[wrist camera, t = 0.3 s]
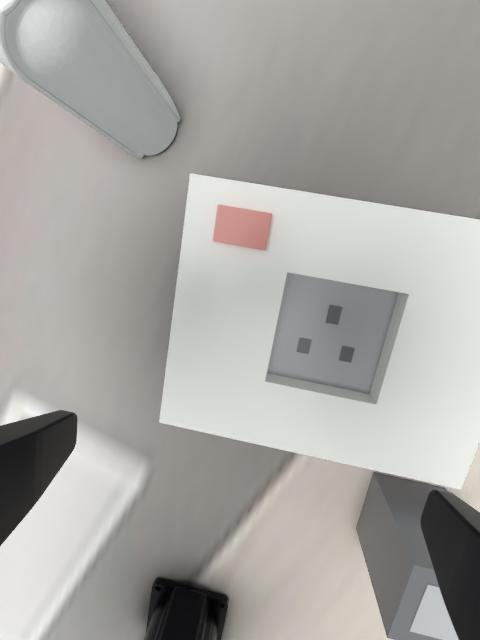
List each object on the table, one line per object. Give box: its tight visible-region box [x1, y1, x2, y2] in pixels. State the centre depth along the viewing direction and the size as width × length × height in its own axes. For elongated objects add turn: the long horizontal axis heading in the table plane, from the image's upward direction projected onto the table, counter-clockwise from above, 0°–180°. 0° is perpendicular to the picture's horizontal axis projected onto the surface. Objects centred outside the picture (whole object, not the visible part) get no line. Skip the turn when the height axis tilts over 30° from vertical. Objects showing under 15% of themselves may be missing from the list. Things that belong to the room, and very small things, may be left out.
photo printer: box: [0, 0, 180, 158], centre depth 13 cm, size 10×4×12 cm, turn 38°
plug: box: [356, 472, 459, 640], centre depth 20 cm, size 5×5×7 cm
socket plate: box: [159, 173, 480, 490], centre depth 20 cm, size 16×20×3 cm
